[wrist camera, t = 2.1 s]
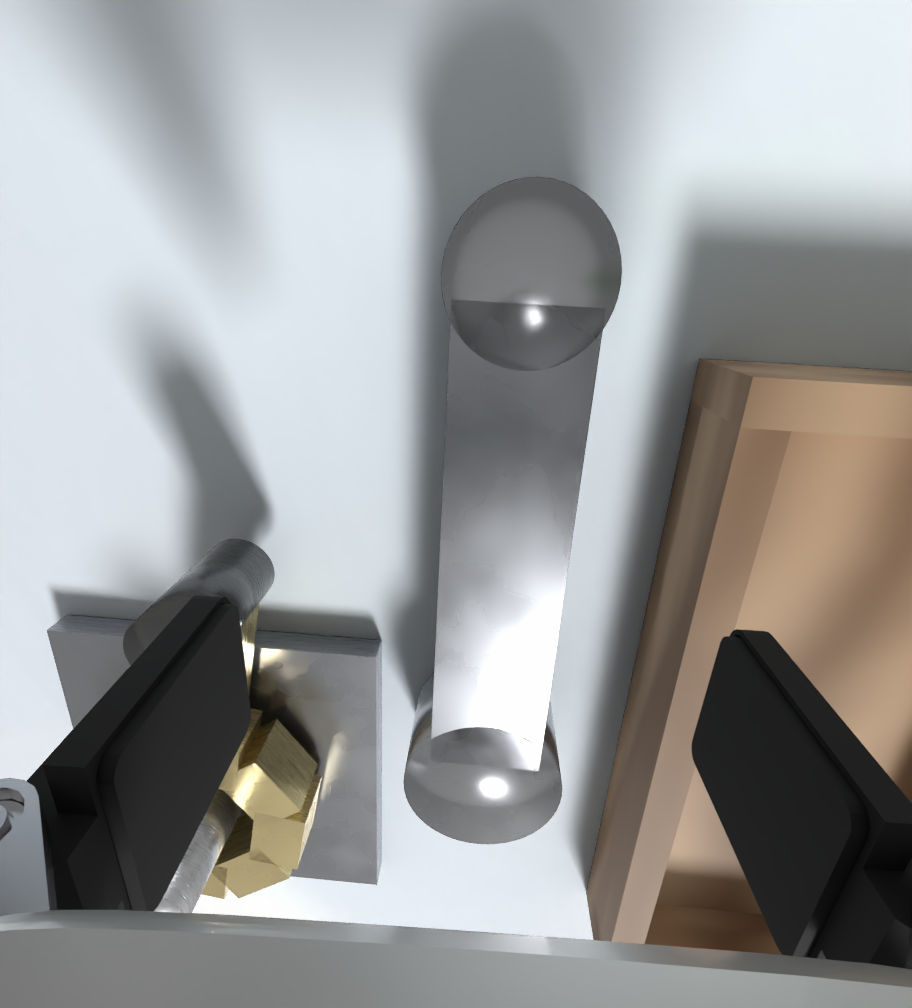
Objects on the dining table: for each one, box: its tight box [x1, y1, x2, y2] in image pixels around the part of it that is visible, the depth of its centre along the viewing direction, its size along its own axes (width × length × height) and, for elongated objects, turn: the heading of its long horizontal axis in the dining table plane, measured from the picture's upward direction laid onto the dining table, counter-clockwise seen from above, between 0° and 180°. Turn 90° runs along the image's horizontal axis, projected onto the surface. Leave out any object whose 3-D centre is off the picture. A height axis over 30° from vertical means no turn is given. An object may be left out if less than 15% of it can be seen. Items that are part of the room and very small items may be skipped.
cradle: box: [586, 359, 912, 955], centre depth 18 cm, size 11×23×4 cm, turn 177°
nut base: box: [47, 615, 381, 913], centre depth 20 cm, size 12×12×6 cm
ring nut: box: [123, 539, 322, 899], centre depth 18 cm, size 14×8×4 cm, turn 167°
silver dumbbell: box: [404, 177, 622, 844], centre depth 17 cm, size 20×5×4 cm, turn 177°
